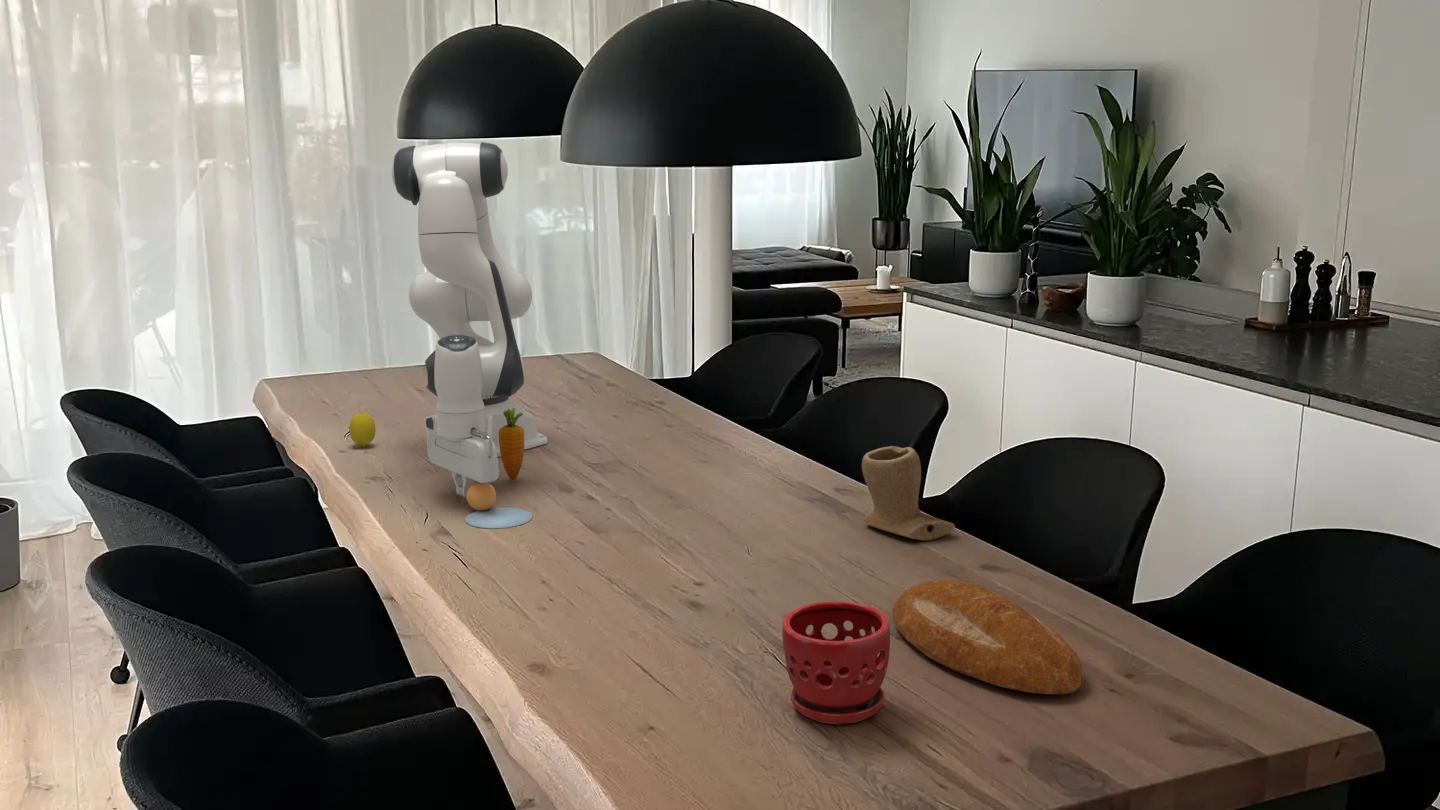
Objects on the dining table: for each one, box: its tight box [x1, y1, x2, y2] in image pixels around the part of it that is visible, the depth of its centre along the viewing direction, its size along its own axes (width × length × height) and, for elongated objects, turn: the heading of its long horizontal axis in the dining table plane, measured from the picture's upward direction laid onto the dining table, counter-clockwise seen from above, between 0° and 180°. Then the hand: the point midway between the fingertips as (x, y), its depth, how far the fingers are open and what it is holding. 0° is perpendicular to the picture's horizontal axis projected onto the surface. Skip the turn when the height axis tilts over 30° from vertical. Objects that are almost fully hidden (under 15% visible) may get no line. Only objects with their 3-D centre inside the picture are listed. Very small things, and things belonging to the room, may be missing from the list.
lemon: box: [348, 411, 376, 448], centre depth 293 cm, size 6×6×8 cm
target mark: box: [464, 506, 533, 530], centre depth 244 cm, size 12×12×1 cm
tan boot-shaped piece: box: [861, 445, 956, 541], centre depth 233 cm, size 15×12×15 cm
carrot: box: [499, 408, 525, 482], centre depth 265 cm, size 5×5×15 cm
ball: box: [466, 481, 497, 511], centre depth 248 cm, size 5×5×5 cm
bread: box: [891, 579, 1083, 695], centre depth 183 cm, size 18×35×9 cm, turn 27°
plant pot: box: [781, 600, 891, 725], centre depth 166 cm, size 13×13×12 cm
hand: (464, 495), depth 252 cm, fingers closed
